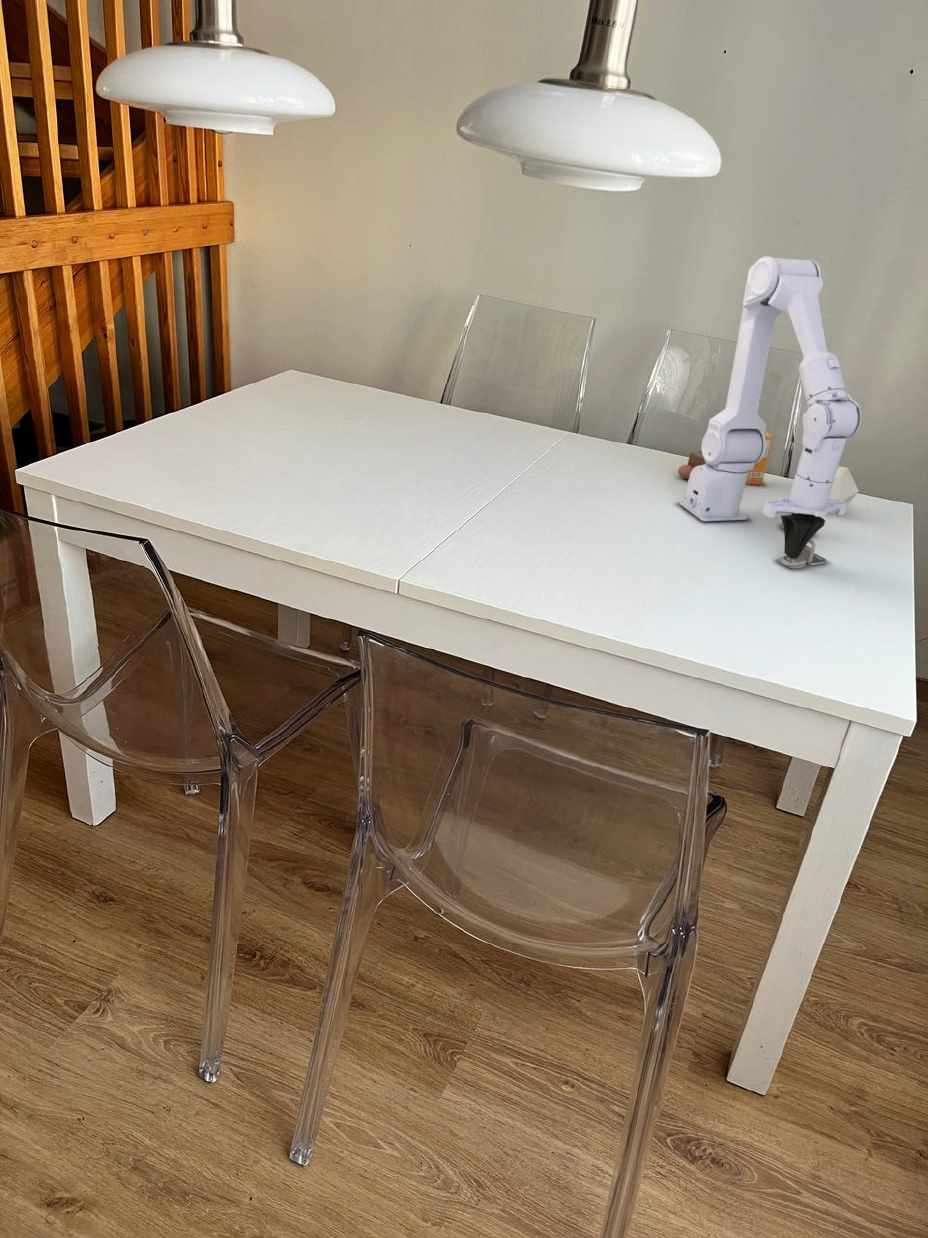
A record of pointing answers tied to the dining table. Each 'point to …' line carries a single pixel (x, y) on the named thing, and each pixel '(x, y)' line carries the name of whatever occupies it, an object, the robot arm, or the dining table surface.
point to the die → (843, 486)
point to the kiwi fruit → (685, 471)
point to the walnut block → (696, 459)
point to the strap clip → (803, 558)
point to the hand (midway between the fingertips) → (791, 555)
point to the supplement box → (760, 465)
